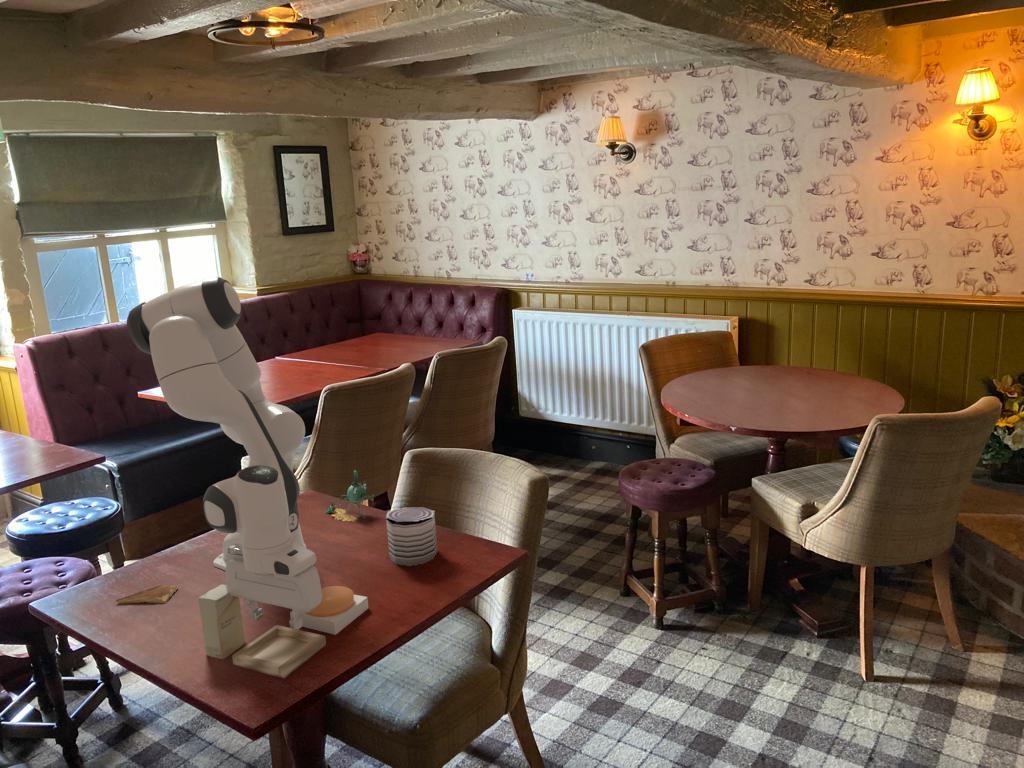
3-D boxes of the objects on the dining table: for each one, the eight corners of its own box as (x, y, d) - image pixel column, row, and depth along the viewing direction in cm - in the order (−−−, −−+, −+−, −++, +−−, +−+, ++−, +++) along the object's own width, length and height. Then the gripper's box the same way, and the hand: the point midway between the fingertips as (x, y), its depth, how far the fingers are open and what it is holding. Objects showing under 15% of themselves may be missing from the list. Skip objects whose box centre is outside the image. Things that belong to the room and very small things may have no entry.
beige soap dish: (233, 665, 152) (232, 655, 151) (277, 633, 162) (276, 624, 162) (283, 678, 147) (282, 668, 146) (326, 645, 157) (325, 636, 157)
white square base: (291, 626, 165) (289, 612, 164) (326, 601, 175) (324, 588, 174) (335, 636, 160) (334, 622, 160) (368, 610, 170) (367, 597, 169)
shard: (116, 606, 176) (115, 599, 175) (133, 590, 183) (133, 583, 183) (165, 607, 175) (164, 599, 175) (181, 590, 183) (180, 583, 182)
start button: (293, 611, 165) (292, 604, 164) (325, 589, 173) (324, 582, 173) (333, 620, 160) (332, 612, 160) (363, 597, 169) (363, 590, 169)
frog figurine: (339, 510, 227) (344, 459, 225) (390, 529, 219) (396, 477, 216) (315, 518, 219) (320, 465, 216) (367, 539, 211) (373, 484, 208)
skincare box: (223, 660, 153) (214, 601, 151) (205, 656, 155) (196, 597, 153) (246, 644, 159) (239, 586, 156) (229, 640, 161) (221, 583, 158)
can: (379, 562, 193) (375, 514, 190) (415, 545, 201) (411, 499, 199) (412, 574, 186) (408, 525, 183) (448, 557, 194) (444, 509, 191)
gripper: (213, 552, 152) (222, 621, 155) (300, 569, 143) (308, 641, 146) (238, 539, 157) (246, 606, 160) (323, 555, 148) (330, 624, 151)
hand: (276, 623), depth 153 cm, fingers open, 8 cm apart
